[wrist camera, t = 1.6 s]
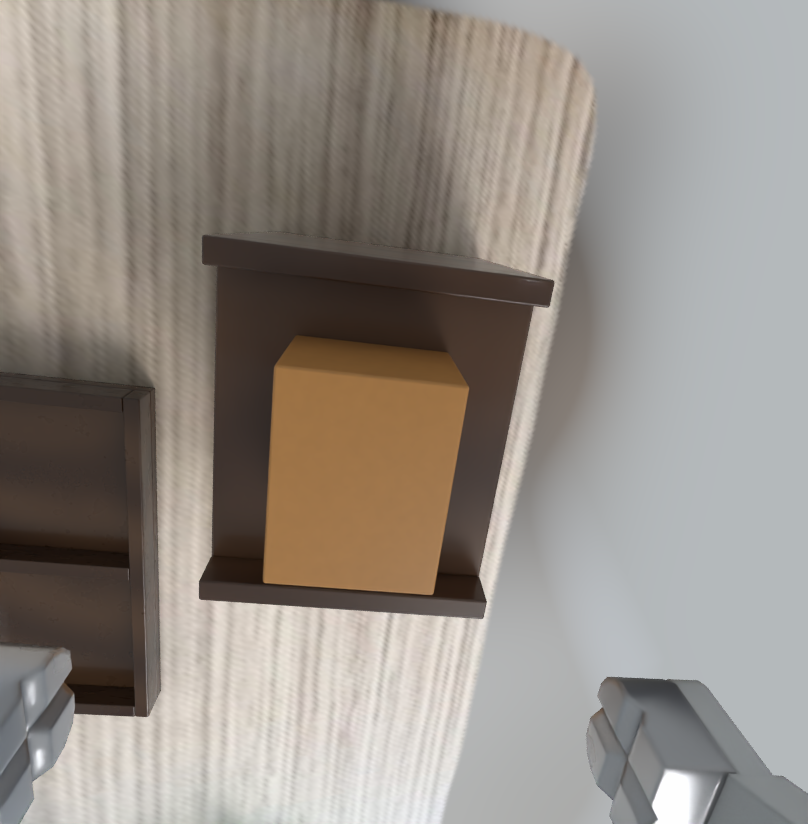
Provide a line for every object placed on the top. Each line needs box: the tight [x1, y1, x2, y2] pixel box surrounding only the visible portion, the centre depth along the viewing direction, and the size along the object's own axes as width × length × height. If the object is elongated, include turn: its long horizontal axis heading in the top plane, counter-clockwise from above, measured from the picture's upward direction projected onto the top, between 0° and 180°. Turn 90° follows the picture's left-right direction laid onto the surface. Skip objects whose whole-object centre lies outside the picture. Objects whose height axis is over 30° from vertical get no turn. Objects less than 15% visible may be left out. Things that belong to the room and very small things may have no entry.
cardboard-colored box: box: [263, 335, 469, 595], centre depth 17 cm, size 6×5×4 cm
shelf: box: [0, 372, 161, 717], centre depth 29 cm, size 20×10×2 cm, turn 173°
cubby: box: [199, 231, 554, 619], centre depth 22 cm, size 12×10×12 cm
